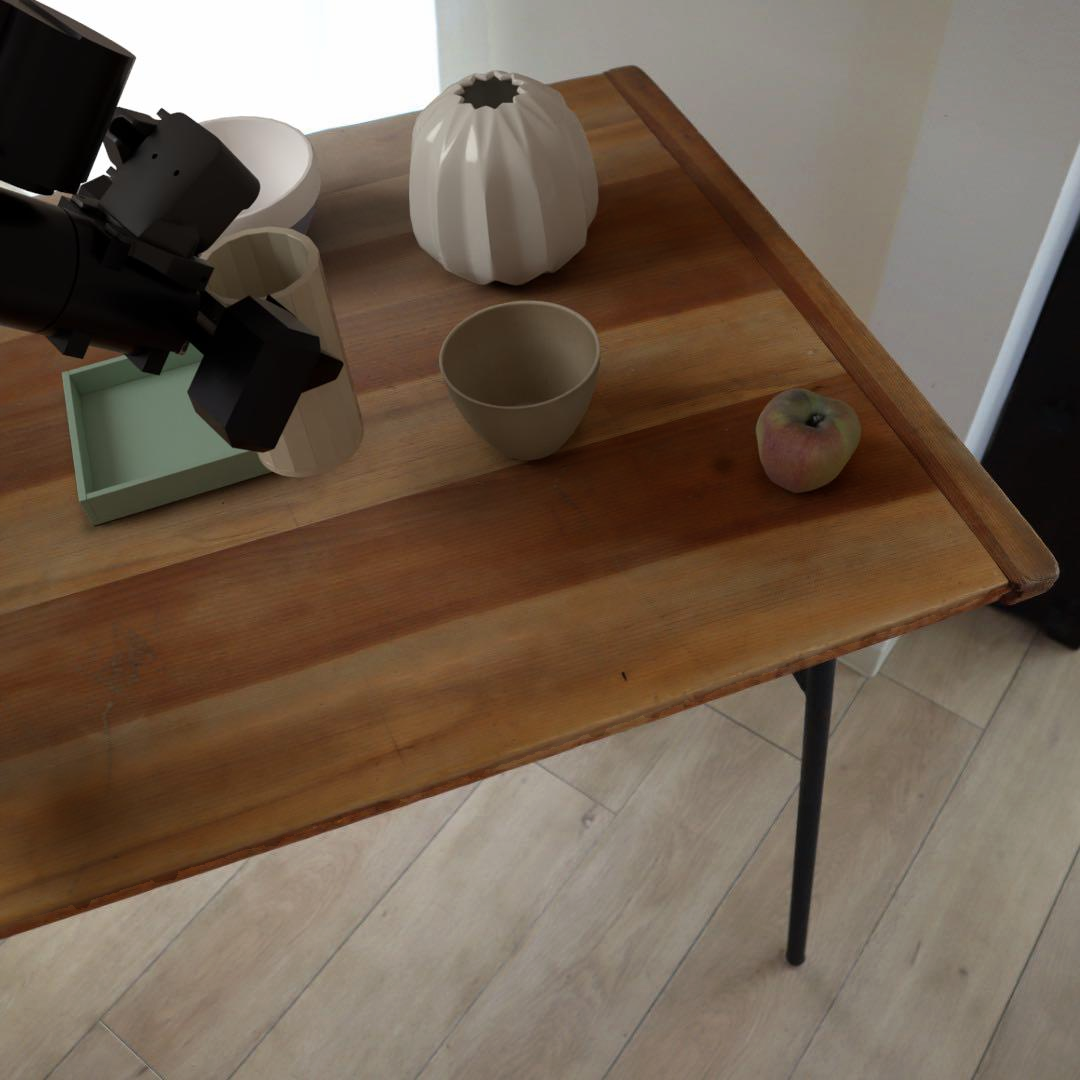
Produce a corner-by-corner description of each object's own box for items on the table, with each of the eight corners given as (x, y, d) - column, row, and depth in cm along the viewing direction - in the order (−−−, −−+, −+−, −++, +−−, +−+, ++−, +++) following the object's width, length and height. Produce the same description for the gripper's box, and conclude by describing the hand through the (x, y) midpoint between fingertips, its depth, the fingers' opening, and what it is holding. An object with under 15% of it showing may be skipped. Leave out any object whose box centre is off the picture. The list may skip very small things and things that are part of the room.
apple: (716, 449, 76) (720, 381, 71) (838, 428, 76) (849, 360, 71) (742, 519, 72) (748, 452, 67) (869, 496, 72) (884, 428, 68)
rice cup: (279, 494, 67) (216, 321, 57) (240, 426, 70) (175, 254, 61) (381, 449, 68) (337, 274, 59) (338, 386, 72) (290, 212, 62)
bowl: (145, 324, 88) (109, 240, 82) (161, 211, 97) (129, 128, 92) (338, 297, 88) (316, 211, 83) (335, 187, 98) (315, 103, 92)
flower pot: (609, 382, 80) (605, 298, 75) (599, 491, 74) (594, 409, 69) (465, 380, 82) (451, 298, 76) (443, 487, 75) (426, 406, 70)
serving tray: (92, 526, 75) (78, 501, 74) (74, 397, 83) (61, 372, 82) (290, 466, 77) (281, 441, 76) (253, 346, 86) (244, 320, 84)
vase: (433, 199, 95) (407, 41, 85) (604, 198, 94) (599, 37, 84) (405, 310, 87) (371, 148, 77) (593, 311, 85) (584, 146, 75)
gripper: (225, 184, 45) (479, 283, 58) (16, 27, 55) (273, 141, 67) (114, 434, 48) (378, 476, 61) (-65, 243, 58) (195, 314, 70)
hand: (303, 340), depth 65 cm, fingers closed on rice cup, 6 cm apart
